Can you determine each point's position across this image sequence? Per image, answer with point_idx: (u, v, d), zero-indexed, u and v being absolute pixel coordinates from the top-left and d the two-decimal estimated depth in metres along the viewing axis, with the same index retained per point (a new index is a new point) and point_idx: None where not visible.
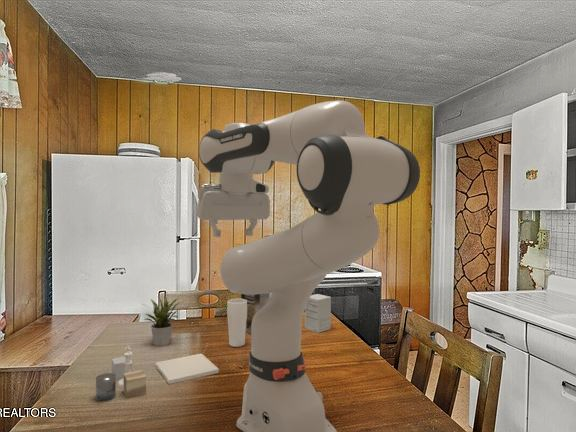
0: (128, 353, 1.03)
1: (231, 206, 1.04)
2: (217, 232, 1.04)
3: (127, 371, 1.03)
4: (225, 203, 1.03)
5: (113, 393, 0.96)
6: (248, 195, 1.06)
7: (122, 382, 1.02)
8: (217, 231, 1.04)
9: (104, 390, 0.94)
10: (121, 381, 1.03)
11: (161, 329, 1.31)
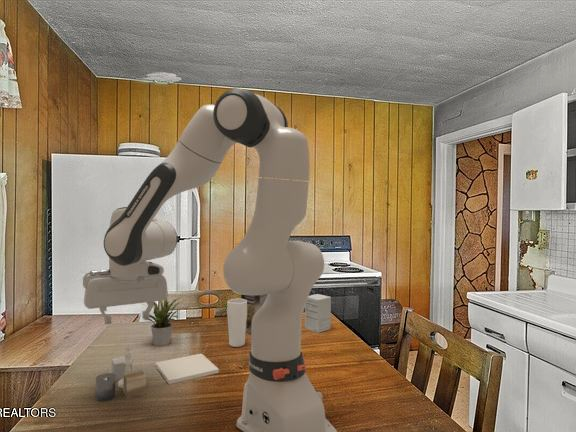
0: (128, 353, 1.03)
1: (121, 291, 1.01)
2: (107, 319, 1.00)
3: (127, 371, 1.03)
4: (114, 289, 1.00)
5: (113, 393, 0.96)
6: (141, 278, 1.03)
7: (122, 382, 1.02)
8: (107, 318, 1.00)
9: (104, 390, 0.94)
10: (121, 381, 1.03)
11: (161, 329, 1.31)
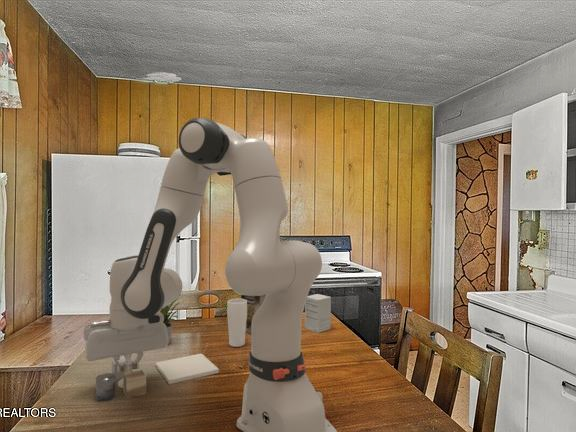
0: None
1: (122, 342, 1.01)
2: (120, 368, 1.02)
3: (127, 371, 1.03)
4: (115, 339, 1.01)
5: (113, 393, 0.96)
6: (141, 327, 1.03)
7: (122, 382, 1.02)
8: (120, 367, 1.02)
9: (104, 390, 0.94)
10: (121, 381, 1.03)
11: None
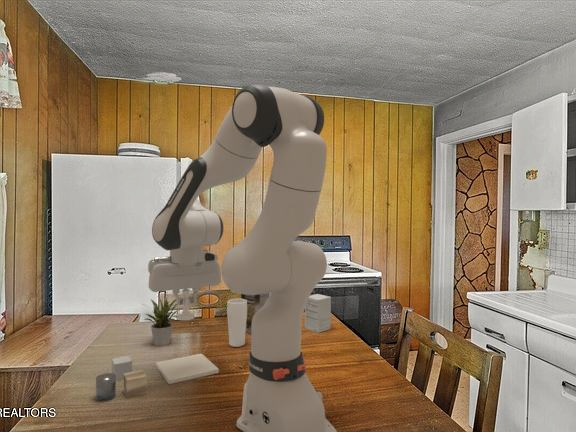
0: (186, 289, 1.12)
1: (181, 276, 1.10)
2: (179, 301, 1.11)
3: (185, 306, 1.12)
4: (175, 274, 1.09)
5: (113, 393, 0.96)
6: (198, 264, 1.12)
7: (181, 315, 1.11)
8: (179, 300, 1.11)
9: (104, 390, 0.94)
10: (180, 315, 1.12)
11: (161, 329, 1.31)
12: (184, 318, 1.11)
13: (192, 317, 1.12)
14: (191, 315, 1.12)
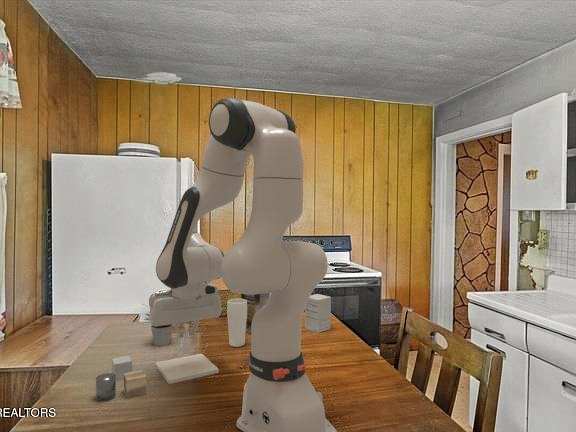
0: (186, 323, 1.13)
1: (182, 310, 1.11)
2: (180, 334, 1.11)
3: (185, 339, 1.13)
4: (176, 308, 1.10)
5: (113, 393, 0.96)
6: (198, 297, 1.13)
7: (181, 349, 1.12)
8: (180, 333, 1.11)
9: (104, 390, 0.94)
10: (180, 348, 1.12)
11: (161, 329, 1.31)
12: (184, 352, 1.11)
13: (192, 350, 1.13)
14: (191, 348, 1.13)
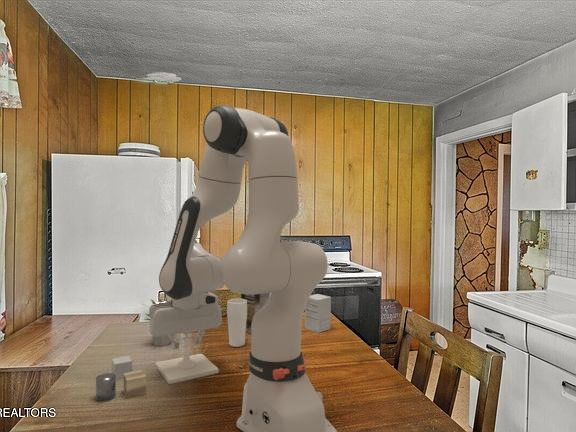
0: (187, 337, 1.13)
1: (182, 320, 1.11)
2: (175, 345, 1.10)
3: (186, 354, 1.13)
4: (176, 318, 1.10)
5: (113, 393, 0.96)
6: (199, 307, 1.13)
7: (182, 364, 1.12)
8: (175, 344, 1.10)
9: (104, 390, 0.94)
10: (181, 363, 1.12)
11: None
12: (185, 367, 1.11)
13: (193, 365, 1.13)
14: (192, 363, 1.13)
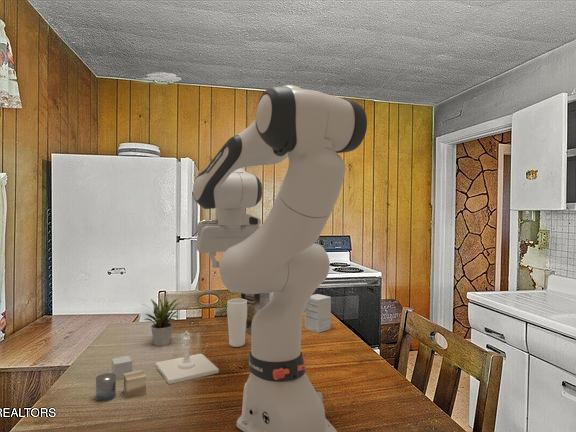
0: (187, 337, 1.13)
1: (227, 239, 1.14)
2: (216, 263, 1.13)
3: (186, 354, 1.13)
4: (222, 236, 1.13)
5: (113, 393, 0.96)
6: (242, 228, 1.16)
7: (182, 364, 1.12)
8: (216, 262, 1.13)
9: (104, 390, 0.94)
10: (181, 363, 1.12)
11: (161, 329, 1.31)
12: (185, 367, 1.11)
13: (193, 365, 1.13)
14: (192, 363, 1.13)
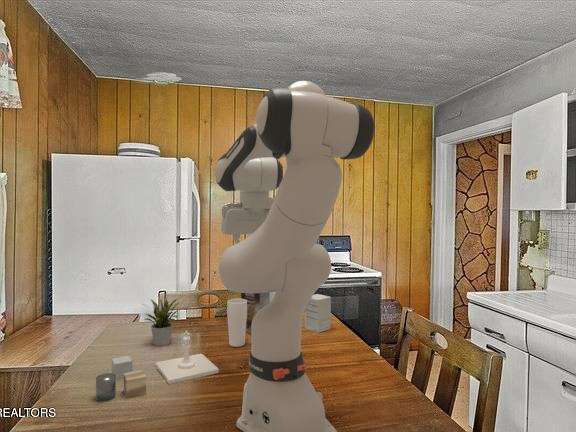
0: (187, 337, 1.13)
1: (251, 222, 1.16)
2: None
3: (186, 354, 1.13)
4: (246, 219, 1.15)
5: (113, 393, 0.96)
6: (266, 211, 1.18)
7: (182, 364, 1.12)
8: None
9: (104, 390, 0.94)
10: (181, 363, 1.12)
11: (161, 329, 1.31)
12: (185, 367, 1.11)
13: (193, 365, 1.13)
14: (192, 363, 1.13)
